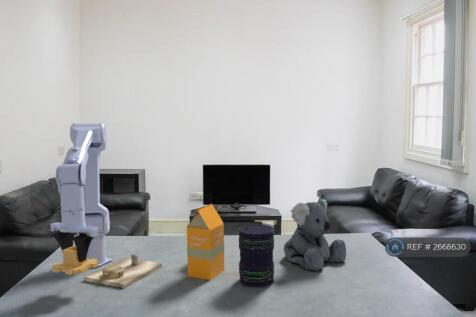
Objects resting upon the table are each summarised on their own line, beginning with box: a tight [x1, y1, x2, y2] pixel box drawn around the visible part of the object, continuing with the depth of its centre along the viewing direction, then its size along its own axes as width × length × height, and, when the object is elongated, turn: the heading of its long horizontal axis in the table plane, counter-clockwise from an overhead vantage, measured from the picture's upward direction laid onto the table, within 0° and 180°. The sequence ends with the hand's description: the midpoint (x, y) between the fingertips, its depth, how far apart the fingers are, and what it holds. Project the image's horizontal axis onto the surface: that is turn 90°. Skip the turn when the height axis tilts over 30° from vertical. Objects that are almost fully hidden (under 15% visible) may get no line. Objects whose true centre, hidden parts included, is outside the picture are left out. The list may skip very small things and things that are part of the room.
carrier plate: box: [83, 253, 162, 289], centre depth 133 cm, size 14×18×4 cm
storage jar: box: [238, 224, 275, 289], centre depth 126 cm, size 10×10×15 cm
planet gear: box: [51, 245, 98, 276], centre depth 119 cm, size 10×10×5 cm
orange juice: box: [186, 203, 225, 281], centre depth 132 cm, size 8×9×20 cm
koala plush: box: [283, 198, 347, 272], centre depth 142 cm, size 17×18×20 cm
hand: (75, 259), depth 119 cm, fingers closed on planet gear, 4 cm apart
